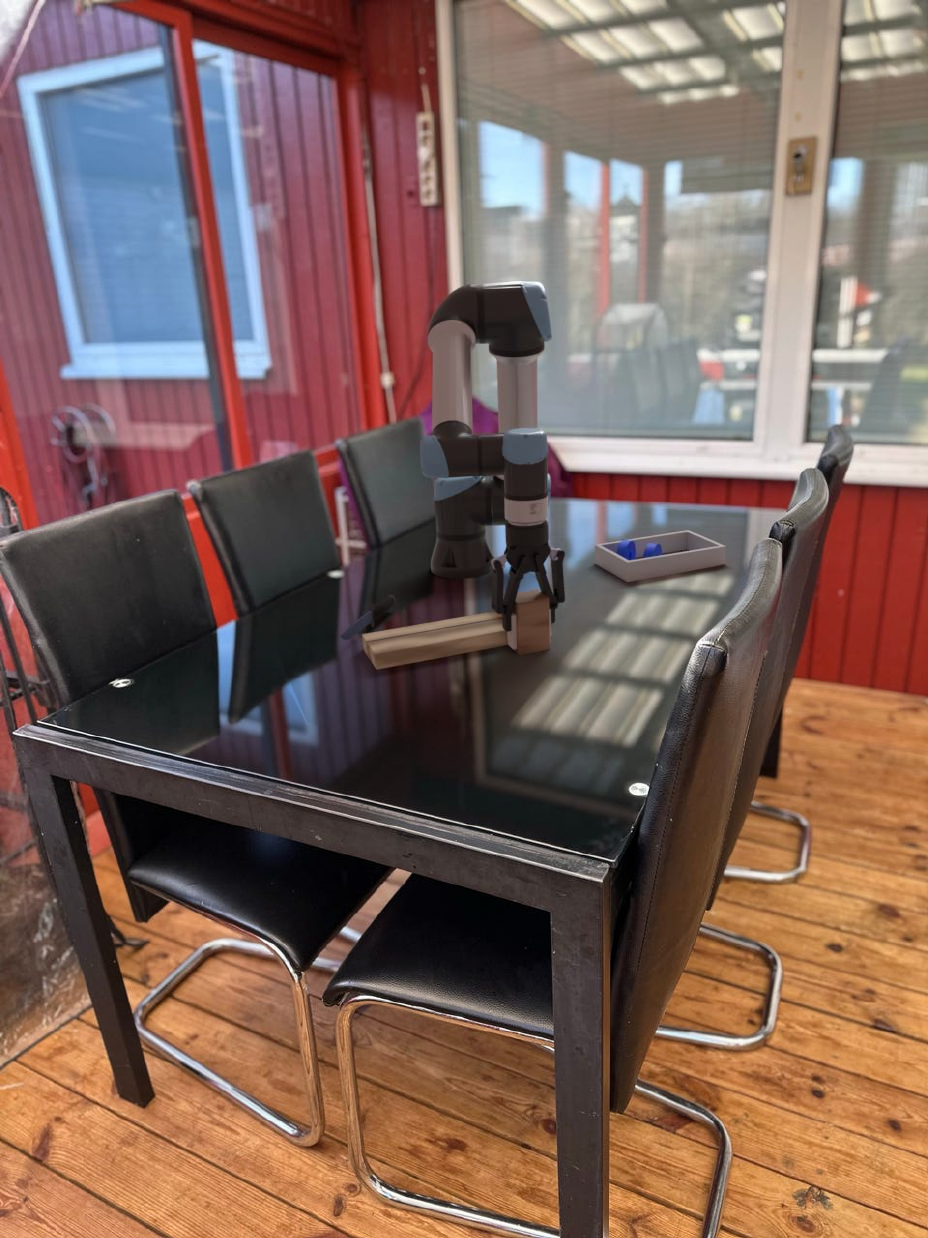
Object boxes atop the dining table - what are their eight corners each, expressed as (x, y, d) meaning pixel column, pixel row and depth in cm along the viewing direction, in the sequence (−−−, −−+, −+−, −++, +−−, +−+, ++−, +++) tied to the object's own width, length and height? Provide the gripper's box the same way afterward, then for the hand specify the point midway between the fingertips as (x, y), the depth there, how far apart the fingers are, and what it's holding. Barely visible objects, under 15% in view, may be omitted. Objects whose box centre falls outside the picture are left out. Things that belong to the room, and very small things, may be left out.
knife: (387, 611, 184) (385, 588, 183) (397, 612, 184) (396, 589, 182) (335, 652, 163) (333, 626, 161) (347, 653, 162) (345, 627, 160)
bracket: (650, 587, 197) (651, 548, 193) (615, 582, 201) (616, 544, 197) (677, 564, 211) (678, 527, 207) (643, 559, 215) (644, 524, 212)
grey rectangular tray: (594, 563, 206) (594, 544, 204) (687, 548, 213) (688, 530, 212) (627, 582, 193) (627, 562, 191) (724, 565, 200) (726, 546, 199)
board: (363, 649, 165) (361, 634, 164) (530, 619, 175) (530, 604, 174) (376, 669, 156) (375, 653, 155) (551, 636, 166) (551, 621, 165)
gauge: (484, 622, 174) (482, 574, 171) (512, 617, 176) (511, 569, 172) (519, 655, 159) (518, 603, 155) (549, 649, 161) (549, 597, 157)
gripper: (483, 533, 147) (488, 660, 155) (586, 518, 153) (585, 641, 161) (467, 522, 154) (473, 645, 162) (566, 508, 159) (567, 627, 168)
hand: (529, 643), depth 162 cm, fingers closed on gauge, 6 cm apart
